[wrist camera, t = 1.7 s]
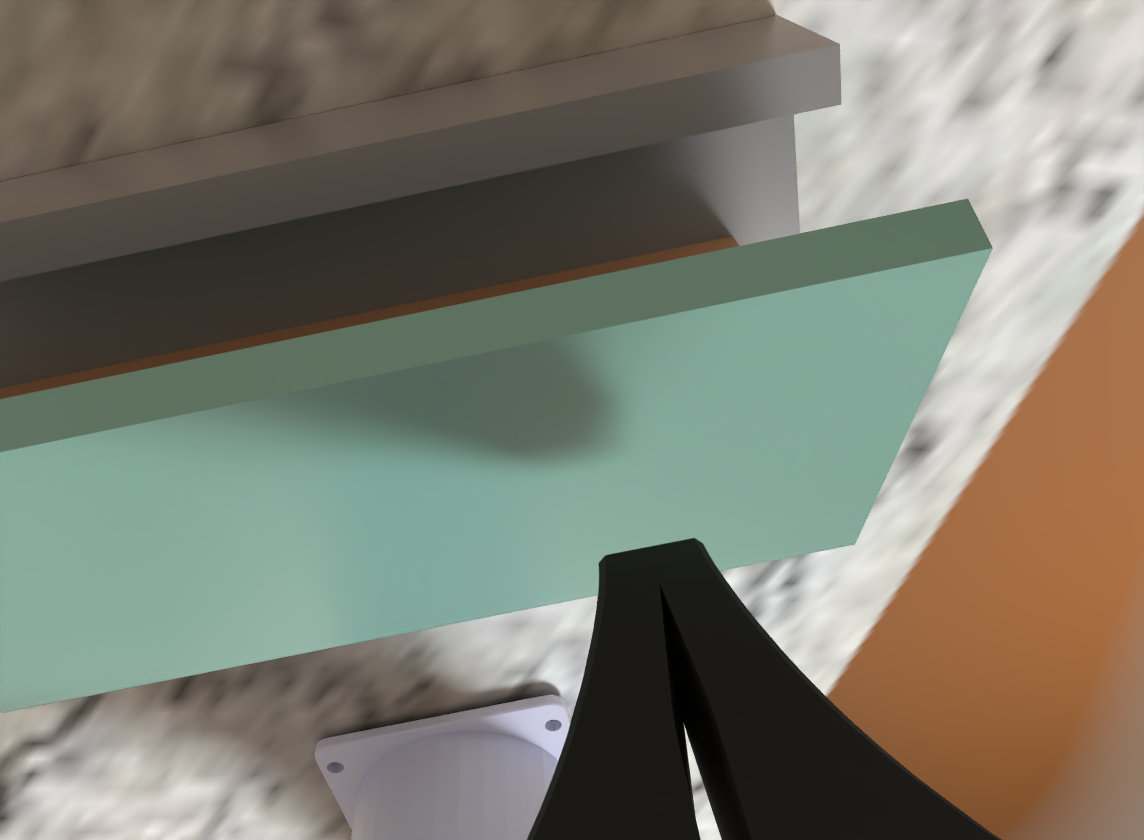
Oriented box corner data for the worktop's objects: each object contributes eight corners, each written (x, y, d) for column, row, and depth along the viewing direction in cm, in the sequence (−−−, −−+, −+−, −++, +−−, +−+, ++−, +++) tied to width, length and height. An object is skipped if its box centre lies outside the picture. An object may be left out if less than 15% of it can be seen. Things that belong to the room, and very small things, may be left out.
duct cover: (843, 511, 20) (854, 544, 20) (-72, 693, 21) (-78, 728, 20) (967, 198, 11) (993, 247, 11) (-666, 537, 12) (-697, 595, 11)
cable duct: (802, 439, 24) (852, 528, 21) (8, 600, 24) (-65, 709, 21) (777, 15, 18) (839, 43, 15) (-248, 234, 19) (-401, 307, 16)
